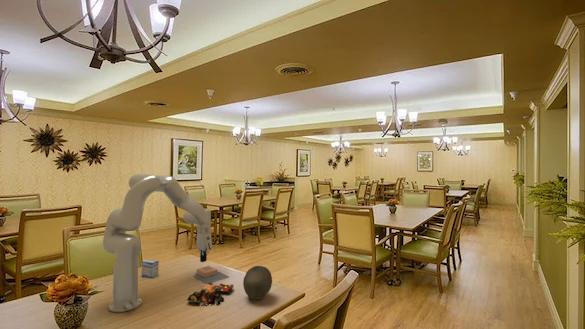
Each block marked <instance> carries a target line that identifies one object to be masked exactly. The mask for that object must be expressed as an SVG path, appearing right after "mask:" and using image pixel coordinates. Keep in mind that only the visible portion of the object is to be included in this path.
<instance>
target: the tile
mask: <svg viewBox="0 0 585 329" xmlns="http://www.w3.org/2000/svg"><path fill="white" fill-rule="evenodd" d="M217 271H218V269H217V268H215V267H212V266H210V265H207V266H203V267H199V268H196V275H200V276H202V277H204V278H205V277H209V276H212V275H215V274H217Z"/></svg>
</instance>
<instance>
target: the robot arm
mask: <svg viewBox="0 0 585 329" xmlns="http://www.w3.org/2000/svg"><path fill="white" fill-rule="evenodd" d="M128 186H129V188H130V189H129V190H128V191H127V192H126V194H125V196H124V199H123V200H124V201H123V204H122V207H119V208H116V209H114V210H112V211H111V212H110V214H109V215H108V217H107V220H106V223H105V228H104V234H103V239H102V245H103V246H102V247H103V249H104V251H105V252H107V253H109V254H113V255H116V258H115V261H114V263H113V269H112V271H113V279H112V280H113V282H112V284H113V288H112V289H113V292H112V302H111V303H109V305H108V310H109V311H110V312H112V313H122V312H128V311H131V310H134V309H137V308H138V307H140V306H141V304H142V298H140V297H138V296H139V295H138V294H139V293H138V292H139V291H138V289H139V288H138V286H139V259H140V257H139V256H140V252H141V246H142V243H141V242H142V241H141V240H140V238H139V237H137V236H136V235H134V234H131V233H126V232H134V231H137V230H139V228H140V227H141V225H142V220H143V213H144V209H145V204H146V201H147V199H148V197H149V196H150V195H152V193H154V192H159V193H163V194H164V195H165V196H166V197H167V198H168V200H169V201H170V202H171V203H172V204H173V206H174V207H177V208H179V209H181V210H184V211H185V212H184V214H183V217H182V219H183V221H184V222H185V223H187V224H193V225H196V233H197V234H196V244H195V245H196V249H197V250H198V251H199V256H200V257H199V258H200V259H199V261H200V263H205V262H207V261H208V260H207V258H208V257H207V255H208V254H209V253H210V250H212V249H213V246H212V244H213V243H212V242H213V241H212V233H211V222H212V221H211V220H212V219H211V218H212V212H211V209H210V208H204V207H203V205H202V204H201V203H200V202H198V201H197V200H195V199H194V198H193V197H191V195H188V194H187V192H186V191H185V189H184V188H183V187H182V186H181V184H180V183H179V181H178V180H177V179H176V178H175V177H173V175H172V176H171V175H156V174H147V173H143V174H142V173H137V174H134V175H132V176H131V177H130V178H129V180H128Z"/></svg>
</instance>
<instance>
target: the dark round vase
mask: <svg viewBox="0 0 585 329" xmlns="http://www.w3.org/2000/svg"><path fill="white" fill-rule="evenodd" d="M242 284H243V285H242V286H243V289H244V292H245V294H246V295H247V297H249V298H251V299H253V300H259V299H262V298H264V297H265V296H266V295H267V294H268V293H270V290H271V288H272V285H273V277H272V273H271V271H270V269H268V268H267V267H266V266H262V265H255V266H254V265H253V266H252V267H250V268H249V269H248V270H247V271H246V273H245V275H244V277H243V282H242Z"/></svg>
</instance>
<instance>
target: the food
mask: <svg viewBox="0 0 585 329" xmlns="http://www.w3.org/2000/svg"><path fill="white" fill-rule="evenodd" d="M233 290H234V284H223V283H219V284H218V285H215V284H213V282H212V283H207V284H206V283H205V284H204V285H202V286H201V288H200V289H199V290H198V291H194V292H193V293H192V294H189V296H188V297H187V299H186V301H188V302H189V303H190V302H192V303H197V304H199V306H200V307H208V306H210V305H209V304H213V305H215V304H216V305H215V306H220V305H221V303H224V301H225V297H224V296H223V295H221V294H217V292H226V293H227V294H226V295H228V294H229V293H230V294H231V293H232V291H233ZM230 294H229V295H230ZM222 296H223V297H222ZM206 304H207V305H206ZM219 304H220V305H219Z"/></svg>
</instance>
